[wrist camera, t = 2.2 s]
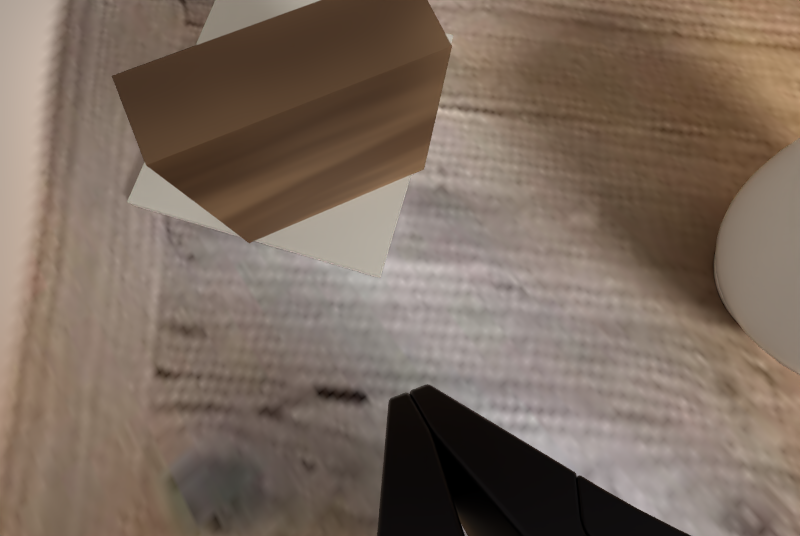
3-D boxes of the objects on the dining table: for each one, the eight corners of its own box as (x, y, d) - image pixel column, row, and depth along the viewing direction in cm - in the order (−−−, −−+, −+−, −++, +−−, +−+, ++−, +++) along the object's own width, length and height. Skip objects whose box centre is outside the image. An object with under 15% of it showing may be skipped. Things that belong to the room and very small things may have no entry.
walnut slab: (424, 169, 21) (451, 46, 13) (249, 243, 20) (145, 165, 12) (399, 119, 22) (410, -33, 13) (227, 190, 21) (111, 75, 12)
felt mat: (451, 43, 24) (453, 35, 23) (380, 278, 21) (379, 276, 20) (231, -20, 24) (227, -29, 23) (134, 206, 21) (126, 202, 21)
